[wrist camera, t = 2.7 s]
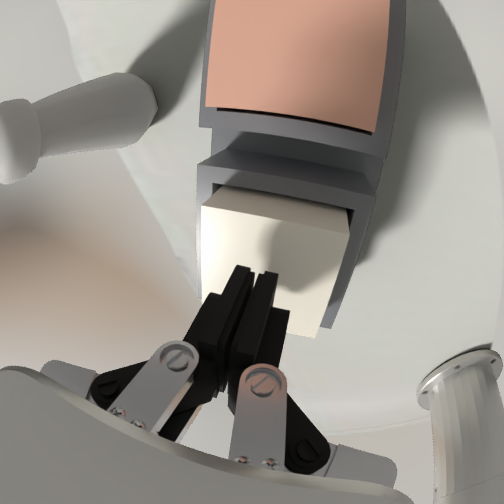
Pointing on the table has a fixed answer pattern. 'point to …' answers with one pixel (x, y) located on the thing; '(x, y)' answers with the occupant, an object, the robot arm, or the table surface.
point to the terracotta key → (300, 58)
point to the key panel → (303, 155)
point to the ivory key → (275, 248)
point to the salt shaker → (74, 122)
